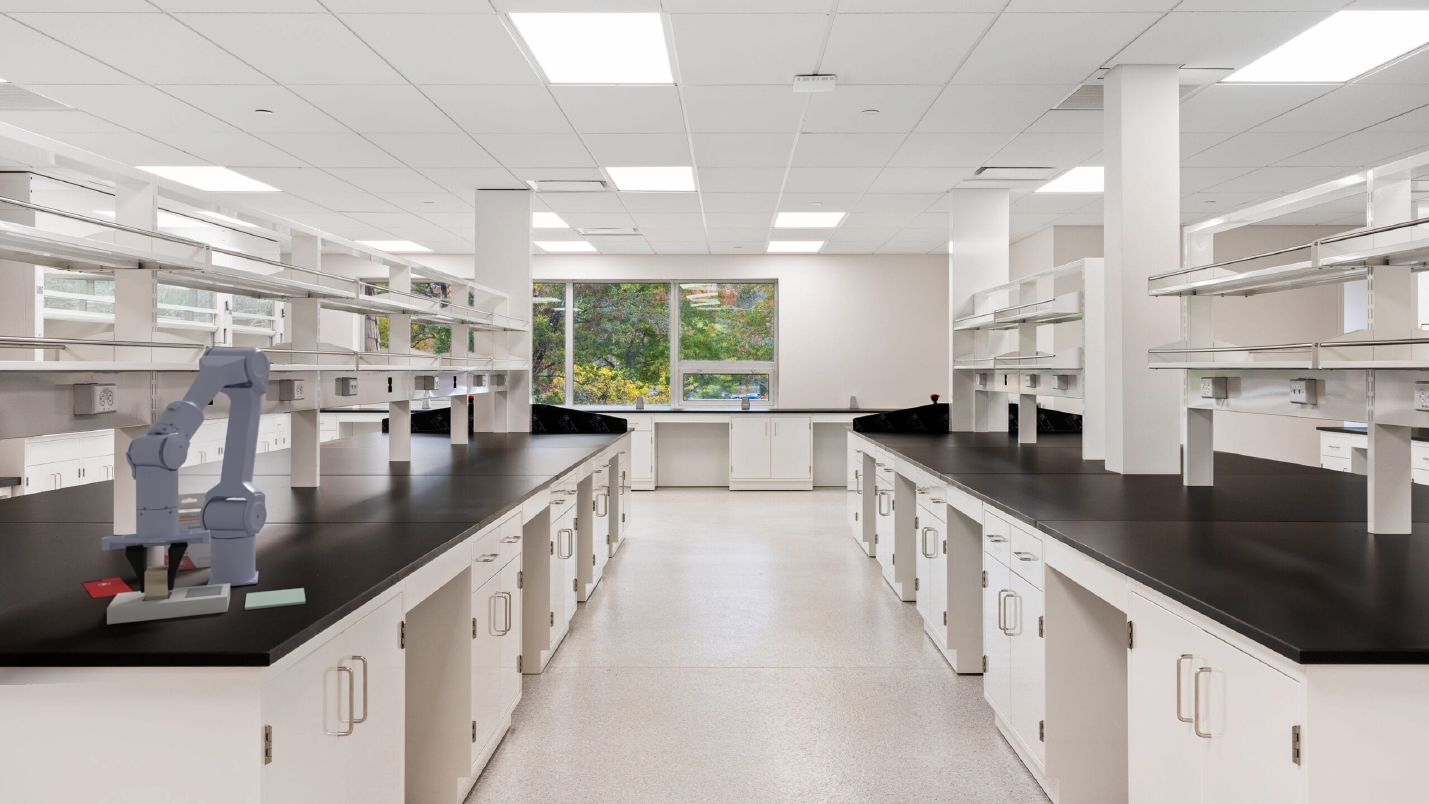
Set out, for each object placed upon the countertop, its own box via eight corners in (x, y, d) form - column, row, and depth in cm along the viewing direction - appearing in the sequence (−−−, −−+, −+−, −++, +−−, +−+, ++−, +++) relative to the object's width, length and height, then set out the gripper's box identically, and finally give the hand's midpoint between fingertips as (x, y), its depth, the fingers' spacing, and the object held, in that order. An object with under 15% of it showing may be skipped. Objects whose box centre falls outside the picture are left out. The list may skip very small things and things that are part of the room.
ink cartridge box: (170, 572, 160) (170, 497, 160) (163, 568, 163) (163, 495, 163) (219, 565, 166) (219, 493, 166) (211, 561, 170) (211, 491, 169)
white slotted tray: (118, 608, 135) (118, 592, 135) (230, 597, 142) (230, 582, 142) (107, 624, 126) (107, 607, 126) (227, 611, 133) (227, 596, 133)
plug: (148, 608, 134) (148, 566, 134) (170, 606, 136) (170, 564, 136) (144, 615, 130) (144, 572, 130) (167, 613, 132) (167, 570, 132)
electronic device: (134, 595, 144) (119, 580, 155) (134, 592, 144) (119, 577, 155) (93, 600, 140) (81, 584, 151) (93, 597, 140) (81, 581, 151)
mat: (246, 595, 143) (246, 593, 143) (303, 590, 148) (303, 587, 148) (244, 609, 135) (244, 607, 135) (305, 603, 139) (305, 601, 139)
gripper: (97, 513, 126) (97, 601, 126) (207, 508, 132) (207, 590, 133) (106, 507, 132) (106, 590, 132) (210, 502, 139) (210, 581, 139)
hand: (157, 590), depth 133 cm, fingers closed on plug, 3 cm apart
